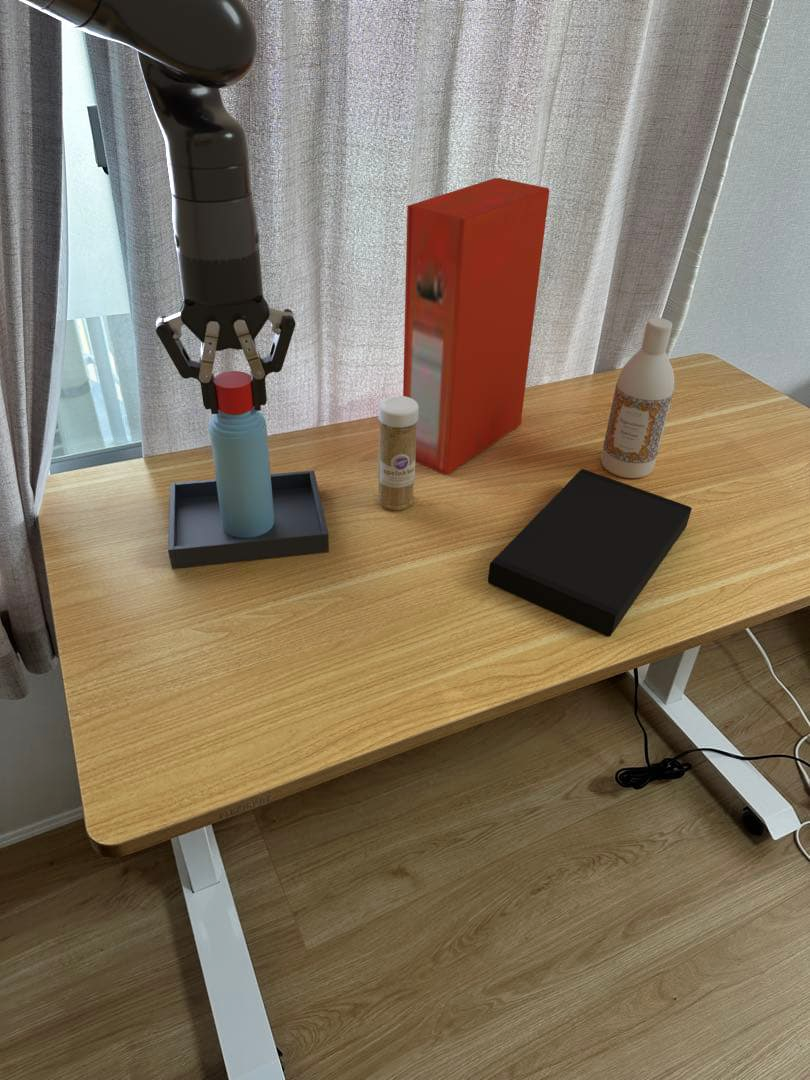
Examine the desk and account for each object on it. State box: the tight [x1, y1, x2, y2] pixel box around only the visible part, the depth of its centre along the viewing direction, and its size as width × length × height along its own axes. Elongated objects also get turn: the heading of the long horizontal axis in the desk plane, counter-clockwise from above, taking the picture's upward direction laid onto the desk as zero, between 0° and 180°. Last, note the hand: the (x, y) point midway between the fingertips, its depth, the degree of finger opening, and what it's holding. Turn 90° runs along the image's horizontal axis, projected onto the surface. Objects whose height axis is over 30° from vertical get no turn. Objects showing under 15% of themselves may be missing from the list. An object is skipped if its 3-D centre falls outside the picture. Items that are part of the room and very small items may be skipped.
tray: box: [167, 470, 330, 570], centre depth 93 cm, size 17×13×3 cm
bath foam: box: [600, 317, 676, 479], centre depth 101 cm, size 7×7×20 cm
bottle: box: [208, 407, 274, 538], centre depth 88 cm, size 6×6×18 cm
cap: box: [214, 370, 254, 414], centre depth 83 cm, size 4×4×3 cm
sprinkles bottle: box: [376, 395, 419, 511], centre depth 95 cm, size 5×5×13 cm
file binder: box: [402, 177, 550, 475], centre depth 101 cm, size 8×17×32 cm, turn 141°
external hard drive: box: [487, 468, 693, 638], centre depth 91 cm, size 14×23×3 cm, turn 146°
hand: (235, 408), depth 85 cm, fingers closed on cap, 3 cm apart
